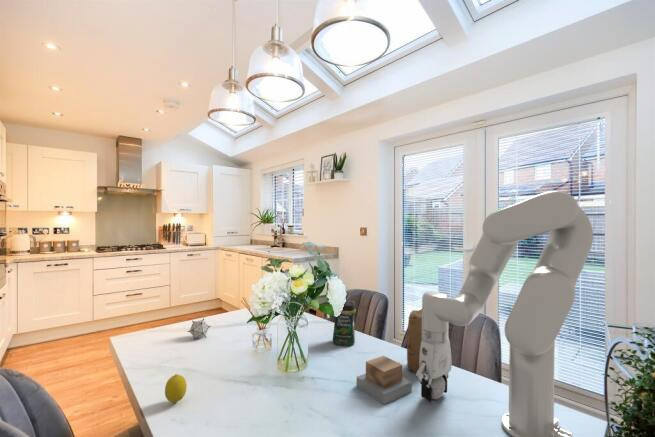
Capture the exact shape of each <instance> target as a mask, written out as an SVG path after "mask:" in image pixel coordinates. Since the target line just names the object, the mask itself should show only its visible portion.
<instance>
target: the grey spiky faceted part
mask: <svg viewBox="0 0 655 437" xmlns="http://www.w3.org/2000/svg"><path fill="white" fill-rule="evenodd" d="M191 322H192V324H191V327H190V329H189V330H188V331H187V333H190V334H191V336H192V337H193V340H194V341H196V339H199V338H203V337H204V338H207V336H206V335H207V333H208V330H209V329H210V328H211V327H212V326H211V325H209V324H207V322H206V321H205V317H204V318H202V319H201V320H196V321H194V319H193V320H191Z"/></svg>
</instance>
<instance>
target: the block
mask: <svg viewBox="0 0 655 437" xmlns="http://www.w3.org/2000/svg"><path fill="white" fill-rule="evenodd" d="M407 322H408V323H407V337H406V338H407V339H406V342H407V343H406V362H407V363H406V367H407V369H408V370H409V371H411V372H412V373H415V374H416V373H417V371H418V370H419V357H420V347H421V341H422V310H414V309H413V310H411V312H410V313H409V316H408V321H407ZM426 374H428V373H427V372H426Z"/></svg>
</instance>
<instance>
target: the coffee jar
mask: <svg viewBox="0 0 655 437" xmlns="http://www.w3.org/2000/svg"><path fill="white" fill-rule="evenodd" d="M345 300H346V302H345V304H344V307H343V310H342V312H341V314H340V316H338V317H335V316H334V325H333V326H334V327H333V331H332V332H333V334H332V343H333V344H335V345H338V346H345V347H350V346H353V345H355V343H356V331H355V313H356V311H357V310H356V308H357V306H356V302H355V300H354V299H353V300H352V299H351V300H350V299H345Z"/></svg>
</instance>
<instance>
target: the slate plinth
mask: <svg viewBox="0 0 655 437" xmlns="http://www.w3.org/2000/svg"><path fill="white" fill-rule="evenodd" d="M412 386H413V383H412V381H410V380H409V379H407V378H405V377H403V376H402V381H401V382H399V383H397V384H394V385H392V386H390V387H387V388H385V389H384V388H382V387H380V386H379V385H377V384H375V383H374V382H372V381H370V380H369V379H367V378H366V373H363V374H361V375H360V374H359V375H358V376H356V387H357V388H358V389H359V390H361V391H363V392H365V393H366V394H367V395H369V396H371V397H372V398H373V399H375V400H377V401H378V402H380V403H381V404H382V405H387V404H389V403H391V402H393V401H396V400H397V399H400V398H401V397H404V396H406V395H408V394H410V393H412V392H413V391H412V390H413V389H412Z"/></svg>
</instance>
